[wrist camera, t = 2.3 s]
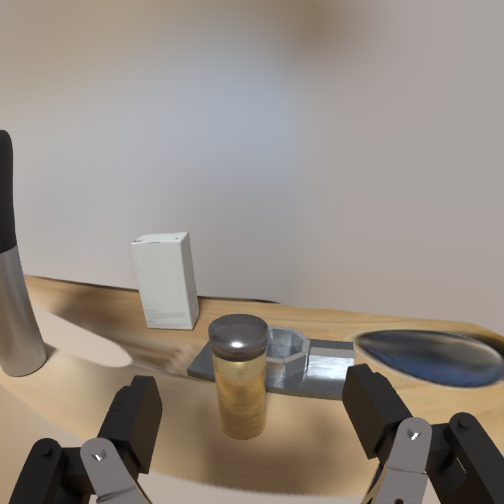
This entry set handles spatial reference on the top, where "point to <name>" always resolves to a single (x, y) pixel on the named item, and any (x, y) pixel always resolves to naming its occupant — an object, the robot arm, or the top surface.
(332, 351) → the socket base
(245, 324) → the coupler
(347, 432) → the top surface
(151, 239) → the skincare box
